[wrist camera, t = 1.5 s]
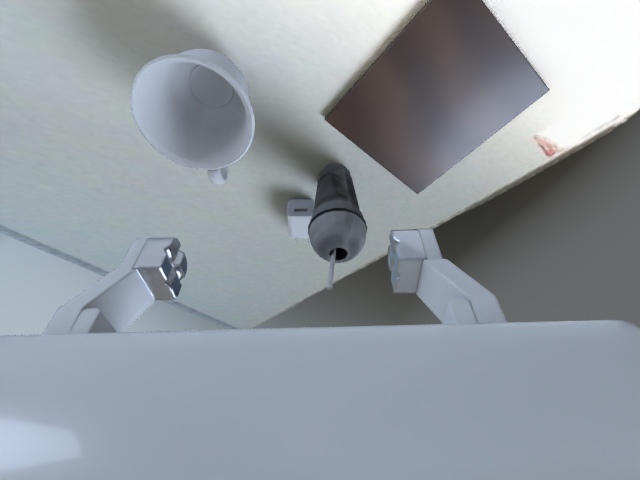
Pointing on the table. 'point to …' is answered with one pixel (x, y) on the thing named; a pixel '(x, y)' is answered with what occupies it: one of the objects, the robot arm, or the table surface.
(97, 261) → the table surface
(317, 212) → the beverage cup
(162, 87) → the teacup
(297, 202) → the usb wall charger
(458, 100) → the mat
